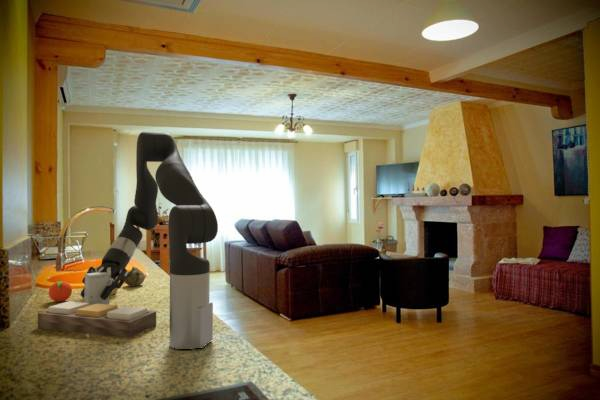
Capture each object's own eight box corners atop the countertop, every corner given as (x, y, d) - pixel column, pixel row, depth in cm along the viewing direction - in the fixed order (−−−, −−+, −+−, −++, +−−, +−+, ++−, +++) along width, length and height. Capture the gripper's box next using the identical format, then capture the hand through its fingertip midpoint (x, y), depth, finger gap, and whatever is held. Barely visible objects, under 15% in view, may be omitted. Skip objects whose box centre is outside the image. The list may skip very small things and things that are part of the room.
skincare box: (88, 316, 125) (88, 275, 125) (83, 313, 128) (83, 273, 128) (109, 312, 129) (109, 273, 129) (104, 309, 132) (104, 271, 132)
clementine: (70, 303, 140) (70, 282, 140) (46, 305, 137) (46, 283, 137) (73, 298, 147) (73, 278, 147) (50, 300, 145) (50, 279, 145)
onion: (149, 285, 172) (149, 265, 172) (132, 288, 165) (132, 268, 165) (137, 283, 176) (137, 264, 176) (120, 286, 169) (120, 266, 169)
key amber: (117, 311, 116) (117, 305, 116) (98, 318, 110) (99, 311, 110) (96, 309, 118) (96, 303, 118) (77, 316, 111) (77, 309, 112)
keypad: (156, 325, 115) (156, 311, 115) (129, 338, 105) (129, 322, 105) (70, 317, 123) (70, 303, 123) (37, 328, 113) (37, 313, 113)
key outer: (89, 309, 119) (89, 302, 119) (69, 315, 112) (69, 308, 112) (69, 307, 121) (69, 301, 121) (48, 313, 114) (48, 306, 114)
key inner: (147, 314, 114) (147, 307, 114) (129, 321, 107) (129, 314, 107) (125, 312, 116) (125, 306, 116) (106, 319, 109) (107, 312, 109)
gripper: (95, 246, 138) (66, 289, 126) (133, 247, 134) (106, 292, 122) (107, 260, 143) (79, 302, 131) (143, 262, 139) (118, 306, 127)
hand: (92, 297), depth 127 cm, fingers open, 6 cm apart
